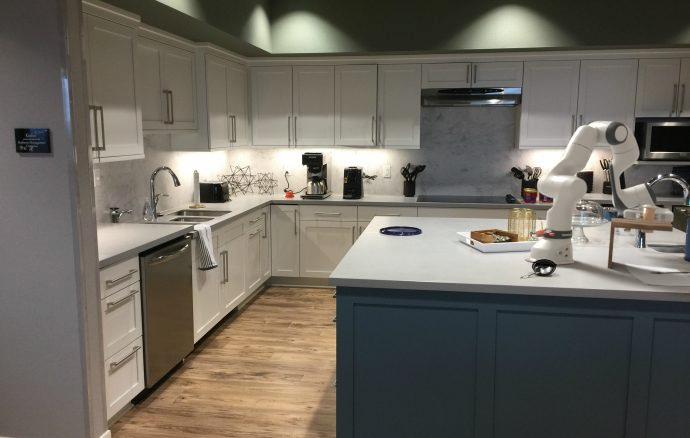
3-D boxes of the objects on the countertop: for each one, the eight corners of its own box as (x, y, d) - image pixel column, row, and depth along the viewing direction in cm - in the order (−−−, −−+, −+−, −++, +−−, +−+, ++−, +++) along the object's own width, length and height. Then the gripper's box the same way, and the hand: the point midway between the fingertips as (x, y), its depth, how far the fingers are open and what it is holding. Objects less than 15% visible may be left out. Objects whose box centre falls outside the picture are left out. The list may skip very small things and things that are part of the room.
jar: (648, 233, 254) (651, 206, 252) (638, 231, 258) (640, 205, 256) (656, 232, 256) (658, 206, 254) (645, 230, 261) (647, 204, 259)
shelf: (608, 261, 260) (611, 217, 257) (665, 266, 250) (670, 221, 247) (607, 268, 246) (611, 222, 243) (668, 274, 236) (672, 226, 233)
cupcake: (541, 244, 295) (542, 222, 294) (531, 241, 304) (532, 219, 302) (555, 244, 298) (556, 221, 296) (545, 241, 306) (547, 218, 304)
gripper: (623, 205, 272) (623, 208, 259) (672, 208, 263) (675, 212, 251) (622, 218, 273) (622, 222, 260) (671, 222, 264) (673, 226, 252)
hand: (648, 217), depth 255 cm, fingers closed on jar, 5 cm apart
